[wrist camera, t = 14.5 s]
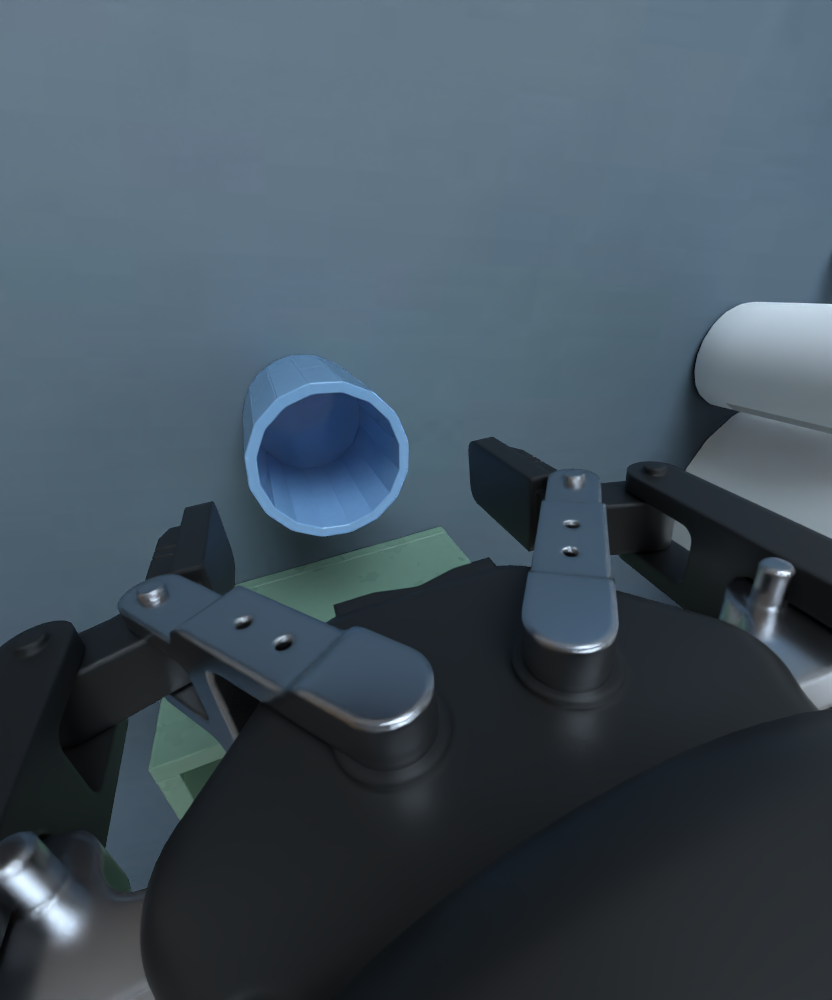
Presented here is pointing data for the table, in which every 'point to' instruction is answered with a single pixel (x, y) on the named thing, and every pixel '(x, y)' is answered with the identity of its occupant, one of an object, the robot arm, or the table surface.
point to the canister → (769, 469)
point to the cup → (321, 447)
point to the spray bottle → (771, 363)
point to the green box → (313, 591)
